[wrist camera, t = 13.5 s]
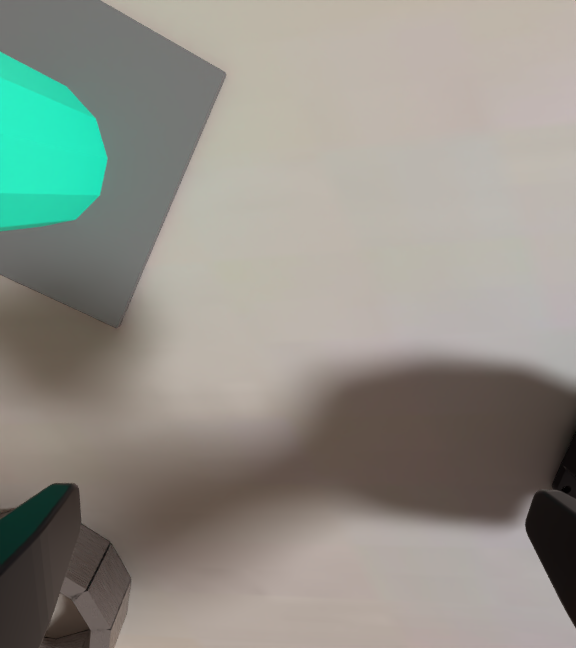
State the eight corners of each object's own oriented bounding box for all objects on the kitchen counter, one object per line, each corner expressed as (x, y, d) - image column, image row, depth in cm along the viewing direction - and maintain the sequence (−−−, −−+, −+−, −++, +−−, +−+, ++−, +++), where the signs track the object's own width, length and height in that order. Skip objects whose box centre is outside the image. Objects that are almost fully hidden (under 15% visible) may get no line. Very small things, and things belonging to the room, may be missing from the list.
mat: (226, 75, 17) (225, 72, 17) (119, 325, 20) (116, 328, 20) (-71, -96, 16) (-80, -103, 15) (-140, 205, 18) (-149, 205, 18)
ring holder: (137, 526, 23) (117, 572, 21) (121, 659, 26) (101, 716, 23) (-53, 497, 23) (-101, 541, 20) (-49, 637, 26) (-91, 692, 23)
